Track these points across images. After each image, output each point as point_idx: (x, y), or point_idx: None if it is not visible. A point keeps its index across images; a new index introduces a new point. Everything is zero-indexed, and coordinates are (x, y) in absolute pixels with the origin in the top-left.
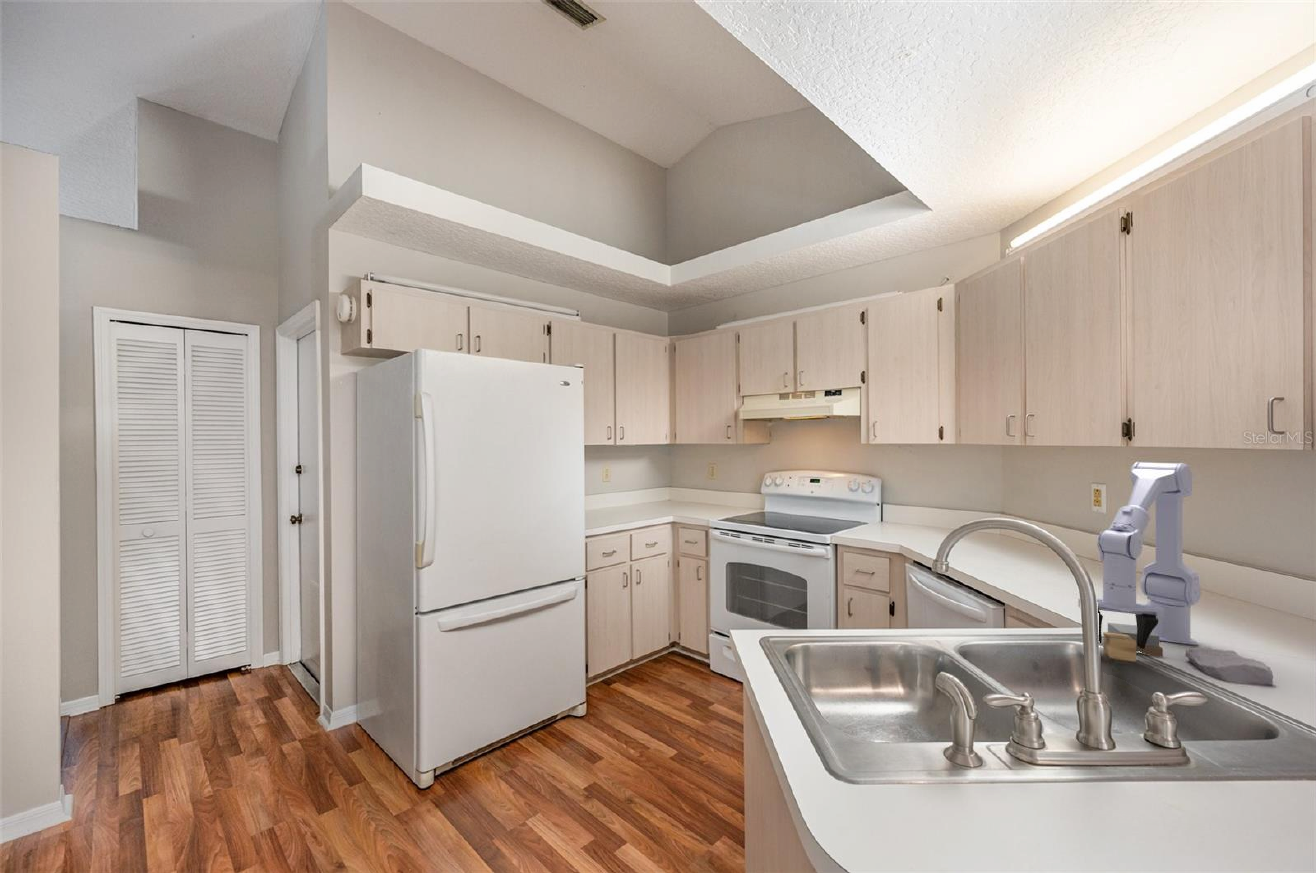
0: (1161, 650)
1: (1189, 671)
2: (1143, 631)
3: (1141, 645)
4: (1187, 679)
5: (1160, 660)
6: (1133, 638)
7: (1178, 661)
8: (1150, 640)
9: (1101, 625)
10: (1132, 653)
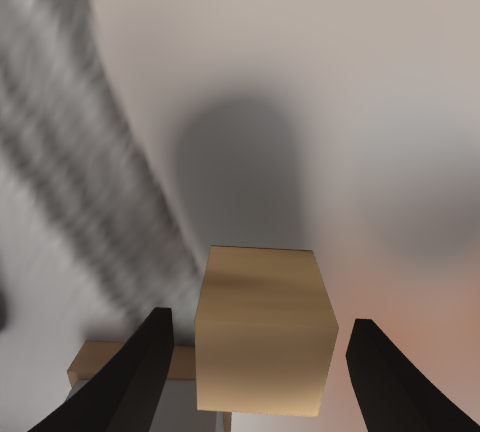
0: (76, 363)
1: (15, 206)
2: (122, 399)
3: (164, 319)
4: (39, 69)
5: (103, 299)
6: (166, 408)
7: (40, 311)
8: None
9: (426, 424)
10: (221, 269)
